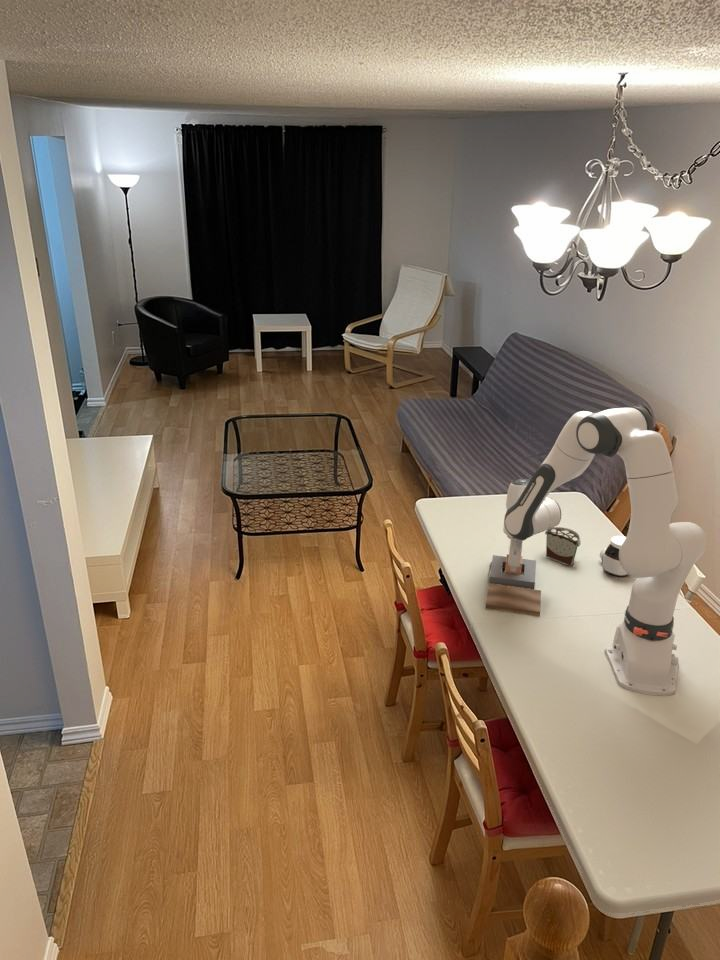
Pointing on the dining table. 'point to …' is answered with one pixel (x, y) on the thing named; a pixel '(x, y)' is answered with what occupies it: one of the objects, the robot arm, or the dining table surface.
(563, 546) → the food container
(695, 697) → the dining table surface
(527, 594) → the walnut board
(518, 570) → the terracotta block
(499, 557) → the pocket plate
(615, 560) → the spread jar
